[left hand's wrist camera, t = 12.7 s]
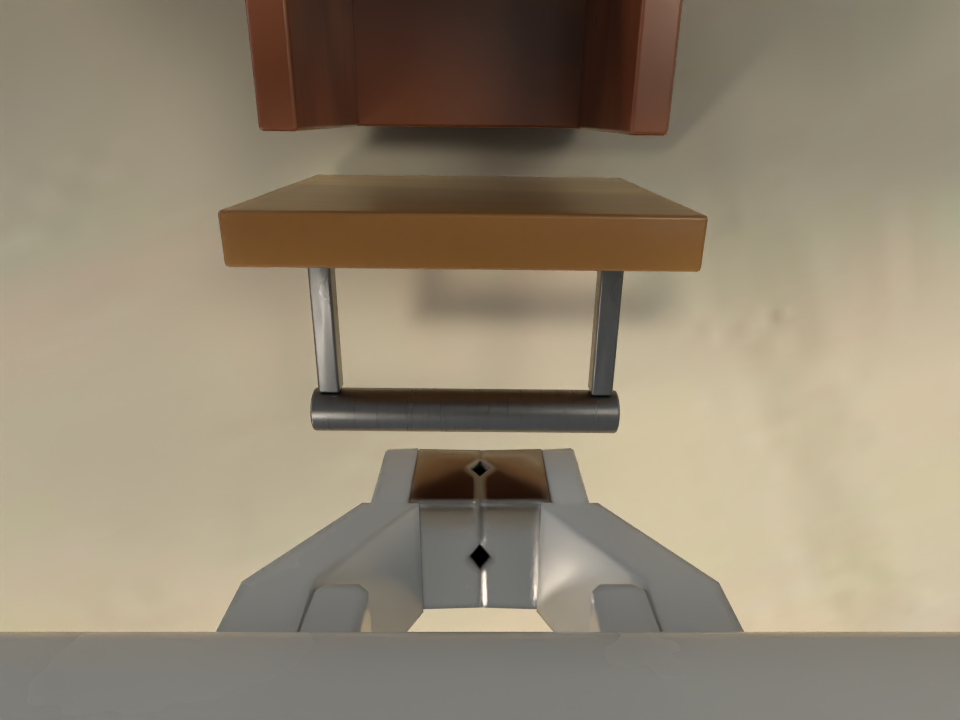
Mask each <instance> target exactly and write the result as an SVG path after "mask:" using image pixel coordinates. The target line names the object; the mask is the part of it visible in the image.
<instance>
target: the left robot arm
mask: <svg viewBox="0 0 960 720" xmlns="http://www.w3.org/2000/svg"><path fill="white" fill-rule="evenodd" d="M478 607H480V608H516V609H537V612H538V614H539V615H540V616H541V617H542V618H543V620H544V621H545V622H546V623H547V625H548V626H549V627H550V628H551V629H552V631H553V632H407V631H408V630H409V629H410V628H411V626H412V625H413V624H414V623H415V621H416V620H417V619H418V618H419V617H420V615H421V614H422V613H423V609H443V608H478ZM0 720H960V632H744V631H743V629H742V627H741V625H740V623H739V621H738V619H737V617H736V615H735V613H734V611H733V609H732V607H731V605H730V603H729V601H728V600H727V598H726V596H725V594H724V592H723V590H722V588H721V586H720V584H719V582H717V581H716V580H714V579H713V578H711V577H710V576H708V575H707V574H705V573H703V572H702V571H700V570H699V569H697V568H696V567H694V566H693V565H691V564H690V563H688V562H687V561H685V560H684V559H682V558H681V557H679V556H678V555H676V554H675V553H673V552H672V551H670V550H668V549H667V548H665V547H664V546H662V545H661V544H659V543H658V542H656V541H655V540H653V539H652V538H650V537H649V536H647V535H646V534H644V533H643V532H641V531H640V530H638V529H637V528H635V527H633V526H632V525H630V524H629V523H627V522H626V521H624V520H623V519H621V518H620V517H618V516H617V515H615V514H614V513H612V512H611V511H609V510H608V509H606V508H605V507H603V506H602V505H600V504H599V503H589V501H588V497H587V494H586V491H585V487H584V484H583V480H582V477H581V473H580V470H579V466H578V463H577V459H576V456H575V453H574V450H572V449H571V448H568V449H546V450H541V449H523V450H481V451H480V450H437V449H420V450H418V449H417V448H416V449H388V450H387V451H386V452H385V455H384V459H383V462H382V466H381V469H380V473H379V476H378V480H377V483H376V487H375V490H374V494H373V497H372V501H371V503H361V504H360V505H358V506H357V507H355V508H354V509H352V510H351V511H349V512H348V513H346V514H345V515H343V516H342V517H340V518H339V519H337V520H336V521H334V522H332V523H331V524H329V525H328V526H326V527H325V528H323V529H322V530H320V531H319V532H317V533H316V534H314V535H313V536H311V537H310V538H308V539H306V540H305V541H303V542H302V543H300V544H299V545H297V546H296V547H294V548H293V549H291V550H290V551H288V552H287V553H285V554H284V555H282V556H281V557H279V558H277V559H276V560H274V561H273V562H271V563H270V564H268V565H267V566H265V567H264V568H262V569H261V570H259V571H258V572H256V573H255V574H253V575H251V576H250V577H248V578H247V579H245V580H244V581H242V583H241V585H240V586H239V588H238V590H237V592H236V594H235V596H234V598H233V600H232V602H231V604H230V606H229V608H228V610H227V612H226V613H225V615H224V617H223V619H222V621H221V623H220V625H219V627H218V629H217V631H216V632H0Z"/></svg>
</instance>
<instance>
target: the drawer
mask: <svg viewBox="0 0 960 720" xmlns="http://www.w3.org/2000/svg"><path fill="white" fill-rule="evenodd" d="M682 2H683V0H245V3H246V12H247V22H248V31H249V40H250V49H251V58H252V68H253V77H254V86H255V95H256V104H257V114H258V123H259V128H260V130H263V131H303V130H315V129H327V128H338V127H350V126H404V127H490V128H576V129H588V130H596V131H604V132H612V133H620V134H628V135H666V134H667V132H668V128H669V119H670V110H671V101H672V92H673V83H674V74H675V65H676V56H677V47H678V38H679V29H680V20H681V11H682ZM218 216H219V224H220V231H221V238H222V246H223V253H224V260H225V264H226V266H229V267H289V268H308V276H309V287H310V298H311V310H312V321H313V332H314V343H315V355H316V366H317V377H318V388H316V389H315V390H314V392H313V395H312V399H311V410H310V413H311V422H312V426H313V428H314V429H315V430H329V431H441V432H552V433H615V432H616V431H617V429H618V426H619V418H620V406H619V399H618V395H617V393H616V391H614V390H613V379H614V369H615V358H616V348H617V337H618V327H619V316H620V305H621V295H622V284H623V274H624V271H674V272H697V271H700V268H701V263H702V256H703V249H704V242H705V234H706V227H707V220H708V219H707V216H705V215H703V214H700V213H698V212H696V211H694V210H691V209H689V208H687V207H685V206H682V205H680V204H678V203H675V202H673V201H671V200H669V199H666V198H664V197H662V196H660V195H657V194H655V193H653V192H651V191H648V190H646V189H644V188H641V187H639V186H637V185H635V184H632V183H630V182H628V181H626V180H623V179H621V178H578V177H489V176H399V175H316V176H313V177H310V178H307V179H305V180H302V181H299V182H296V183H294V184H291V185H288V186H285V187H283V188H280V189H277V190H275V191H272V192H269V193H266V194H264V195H261V196H258V197H255V198H253V199H250V200H247V201H245V202H242V203H239V204H236V205H234V206H231V207H228V208H225V209H223V210H220V211H219V213H218ZM335 268H386V269H482V270H578V271H597V283H596V295H595V308H594V320H593V333H592V345H591V358H590V371H589V383H588V387H589V390H535V389H428V388H342V386H343V375H342V362H341V348H340V335H339V321H338V307H337V294H336V280H335Z"/></svg>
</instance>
